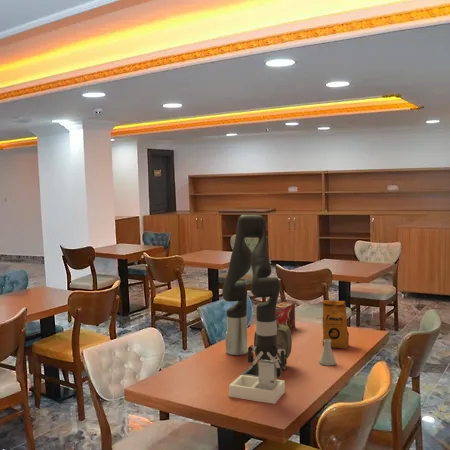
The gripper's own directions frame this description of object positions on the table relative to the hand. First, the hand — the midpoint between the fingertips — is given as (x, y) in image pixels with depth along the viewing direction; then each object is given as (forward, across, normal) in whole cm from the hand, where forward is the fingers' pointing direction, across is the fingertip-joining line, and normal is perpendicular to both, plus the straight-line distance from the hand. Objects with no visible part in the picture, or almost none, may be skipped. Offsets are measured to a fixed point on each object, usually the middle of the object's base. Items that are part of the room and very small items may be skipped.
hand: (267, 375), depth 194 cm
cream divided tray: (+8, -4, 0) cm, 9 cm away
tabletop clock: (+8, -8, +30) cm, 32 cm away
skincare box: (+7, 0, 0) cm, 7 cm away
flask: (+8, +12, +42) cm, 44 cm away
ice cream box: (+8, -22, +81) cm, 84 cm away
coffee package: (+8, +10, +66) cm, 67 cm away
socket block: (+8, -9, +13) cm, 18 cm away
